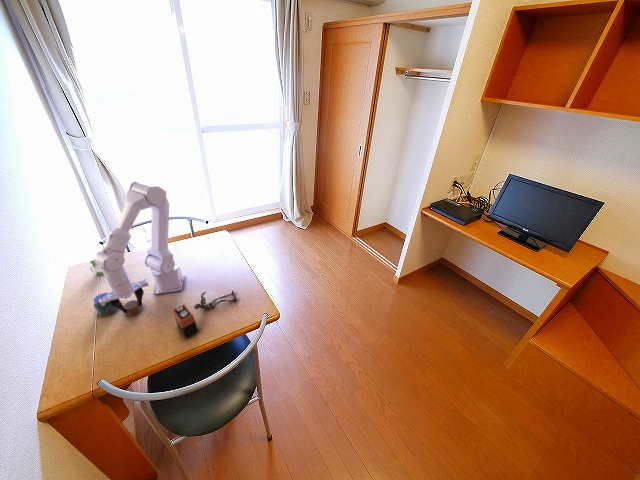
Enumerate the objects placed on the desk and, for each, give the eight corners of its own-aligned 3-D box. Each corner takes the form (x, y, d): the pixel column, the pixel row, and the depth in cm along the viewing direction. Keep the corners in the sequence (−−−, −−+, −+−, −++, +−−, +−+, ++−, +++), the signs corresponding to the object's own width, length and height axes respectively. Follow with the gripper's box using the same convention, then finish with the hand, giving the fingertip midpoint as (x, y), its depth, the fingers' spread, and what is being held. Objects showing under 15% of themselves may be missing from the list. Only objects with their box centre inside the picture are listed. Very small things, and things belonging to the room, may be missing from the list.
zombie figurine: (234, 289, 101) (193, 304, 95) (237, 301, 105) (197, 316, 99) (230, 280, 105) (190, 294, 98) (232, 292, 109) (194, 306, 102)
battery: (186, 339, 90) (179, 320, 85) (178, 327, 94) (170, 308, 88) (198, 331, 93) (192, 312, 87) (190, 320, 97) (183, 301, 91)
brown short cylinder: (142, 304, 101) (139, 299, 100) (139, 314, 98) (136, 308, 96) (128, 307, 100) (125, 301, 98) (125, 316, 97) (122, 310, 95)
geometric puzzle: (87, 266, 115) (84, 259, 109) (106, 259, 119) (104, 252, 113) (96, 279, 114) (93, 273, 108) (114, 272, 118) (112, 266, 112)
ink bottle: (121, 301, 102) (115, 290, 99) (115, 314, 97) (109, 302, 94) (101, 304, 101) (94, 293, 97) (95, 317, 95) (87, 305, 92)
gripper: (96, 297, 84) (113, 325, 91) (146, 276, 93) (157, 303, 101) (91, 286, 88) (107, 314, 95) (139, 267, 97) (150, 293, 104)
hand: (132, 308), depth 98 cm, fingers closed on brown short cylinder, 4 cm apart
